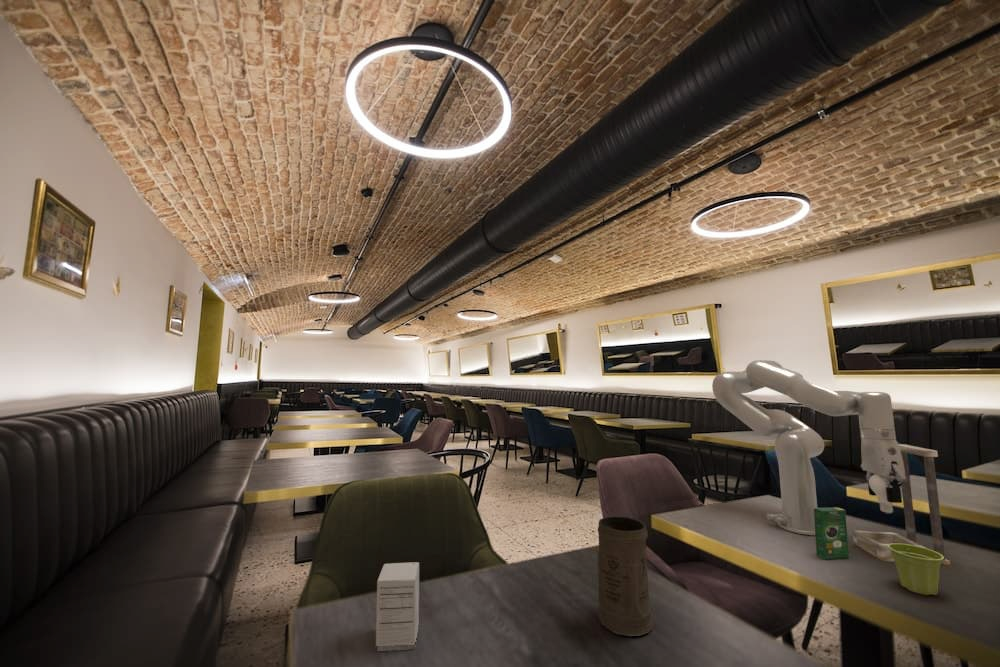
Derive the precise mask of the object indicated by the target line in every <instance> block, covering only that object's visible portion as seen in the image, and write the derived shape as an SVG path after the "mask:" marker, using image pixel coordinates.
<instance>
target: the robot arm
mask: <svg viewBox="0 0 1000 667" xmlns="http://www.w3.org/2000/svg"><path fill="white" fill-rule="evenodd" d="M711 387H712V392H713V395H714V397H715V399H716V401H717V402H718V403H719V404H720V405H721V407H723V408H724V409H725V410H727V411H728V412H729V413H731V414H732V415H733V416H735V418H737V419H739V420H740V421H741V422H742V423H743V424H745V425H746V426H747V427H749V428H750V430H751V429H752V431H753V432H755V433H756V434H758V435H759V436H761V437H765V438H773V437H776V438H775V440H774V452H775V454H776V458H777V459H776V460H777V463H778V471H779V485H780V496H781V509H782V510H779V512H777V513H767V514H766V518H767V520H768V521H775V523H776V522H777V525H778V527H779V528H781V529H783V530H786V531H787V532H792V533H795V534H799V535H805V536H815V522H814V508H818V503H817V502H818V500H817V490H816V487H817V486H816V479H815V472H814V467H813V465H812V464H813V463H812V460H811V458H815V457H817V456H820V455H821V454H822V453H823V451H824V449H825V442H824V440H823V438H822V436H821V435H820V434H819V433H817V431H815V430H814V429H812V428H811V427H810V426H808V425H807V424H806V423H804V422H802V421H801V420H799V419H798V418H796V417H795V416H794V415H792V414H790V413H788V411H785V410H781V409H775V408H774V409H767V408H765V407H764V406H762V405H760V404H759V403H758V402H756V401H755V400H754V399H752V398H750V397H748V396H746V395H744V394H748V393H752V392H755V391H757V390H761V389H763V388H767V389H769V390H772V391H775V392H776V393H780V394H782V395H784V396H787V397H789V398H790V399H791V400H794V401H795V402H797V403H798V404H800V405H801V406H802V405H803V406H804V407H806V408H809V409H811V410H814V411H816V412H817V413H818V412H819V413H821V414H824V415H827V416H831V417H842V416H854V415H858V423H859V432H860V439H861V443H860V444H861V446H860V448H861V450H860V451H861V464H860V468H861V469H862V471H863V473H864V475H865V480H866V481H867V487H868V494H869V495H870V496H876V494H875V493H874V492H873V490H872V489H871V488H870V486H869V479H870V477H871V476H872V475H874V474H877V475H880V476H883V477H884V478H885V481H886V483H887V486H888V487H886V493H887V501H888V502H890V503H892V504H893V503H895V504H901V503H903V496H902V484H903V482H904V481H905V479H906V476H905V469H904V464H903V459H902V454H901V451H900V448H899V445H898V444H899V442H898V441H897V436H896V430H895V429H896V428H895V420H894V413H893V405H892V404H893V403H892V397H891V396H890V394H889V393H887V392H884V391H883V392H882V391H863V392H860V391H859V392H858V391H851V390H831V389H827V388H825V387H822V386H819V385H816V384H813V383H811V382H809V381H807V380H806V379H805V378H804V377H803V375H802V374H801V373H799V372H797V371H793V370H790V369H787V368H784V367H783V366H782V364H780V363H779V362H778V361H774V360H767V359H765V360H762V359H758V360H753V361H751V362H750V363H749V364H747V366H746V368H745V370H742V371H724V372H720V373H719V374H716V375H715V377H714V378H713V380H712V385H711ZM889 475H890V476H889ZM890 479H894V480H893V481H892V482H891V480H890ZM876 497H877V496H876Z"/></svg>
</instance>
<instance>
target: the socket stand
mask: <svg viewBox="0 0 1000 667" xmlns="http://www.w3.org/2000/svg"><path fill="white" fill-rule="evenodd" d="M898 445H899V448H900V451H901V454H902V459H903V464H904V469H905V476H906V479H905V481H904V482H903V484H902V488H901V496H902V503H903V513H904V523H905V530H906V531H905V532H906V537H905V536H904V535H903V536H902V535H900V534H898V533H897V532H890V531H889V532H888V531H871V530H870V531H869V530H852V536H853V539H852V540H853V545H854V546H856V547H857V546H858V547H857V548H859V547H860V548H859V549H861V550H862V551H864V552H866V553H868V554H869V555H871V556H873V557H875V558H876V559H878V560H879V559H880V560H879V561H881V560H882V561H881V562H894V563H895V561H894V557H893V555H892V554H891V551H890V549H889V548H888V544H891V543H901V544H909V545H915V546H919V547H923V548H927V547H925V546H924V545H921V544H919V543H917V534H916V532H917V531H916V524H915V515H914V514H915V513H914V512H915V511H914V504H913V496H912V486H911V478H910V469H909V457H908V454H911V455H915V456H916V455H917V456H920V457H923V464H924V465H923V466H924V473H925V474H924V476H925V481H926V482H925V483H926V491H927V501H928V502H927V503H928V510H929V519H930V527H931V528H930V529H931V538H932V545H933V547H932V548H933V551H935V552H938V553H940V554H941V555H943V556H944V560H942V562H941V564H944V565H945V566H951V560H948V559H946V555H945V554H946V553H945V546H944V539H943V538H944V536H943V527H942V519H941V510H940V503H939V502H940V501H939V493H938V492H939V491H938V485H937V474H936V466H935V458H938V457H939V454H938V450H936V449H935V450H934V449H929V448H924V447H920V446H915V445H910V444H905V443H904V444H903V443H898Z"/></svg>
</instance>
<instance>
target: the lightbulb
mask: <svg viewBox="0 0 1000 667" xmlns="http://www.w3.org/2000/svg"><path fill="white" fill-rule="evenodd" d="M889 476H891V475H890V474H889ZM890 480H891V482H892V481H893V480H894V479H890ZM869 486H870V488H871V489H872V490H873V492H874V493H875V494H876V498H877V500H878V503H879V508H880V509H879V510H880V511H881V512H883V513H884V514H887V515H889V514H892V513H893V512H894V509H893V508H894V507H893V503H890V502H888V501H887V493H886V487H888V486H887V483H886V481H885V478H884V477H883V476H880V475H877V474H874V475H872V476H871V477H870V479H869Z"/></svg>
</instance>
